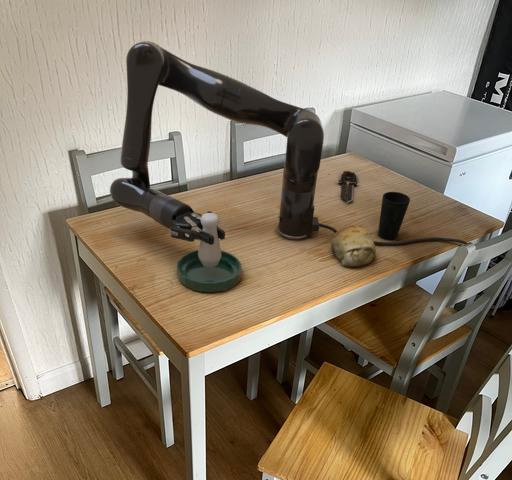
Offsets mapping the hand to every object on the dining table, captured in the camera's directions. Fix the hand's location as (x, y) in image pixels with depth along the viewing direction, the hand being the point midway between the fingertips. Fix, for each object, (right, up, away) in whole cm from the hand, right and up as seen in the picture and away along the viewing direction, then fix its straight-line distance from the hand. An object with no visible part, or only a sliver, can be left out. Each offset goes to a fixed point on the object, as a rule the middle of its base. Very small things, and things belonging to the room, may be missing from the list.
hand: (218, 238), depth 128 cm
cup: (+48, +7, +31) cm, 58 cm away
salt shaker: (-3, -5, +7) cm, 9 cm away
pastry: (+35, -1, +21) cm, 41 cm away
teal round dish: (-3, -8, +9) cm, 12 cm away
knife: (+40, +27, +55) cm, 74 cm away
